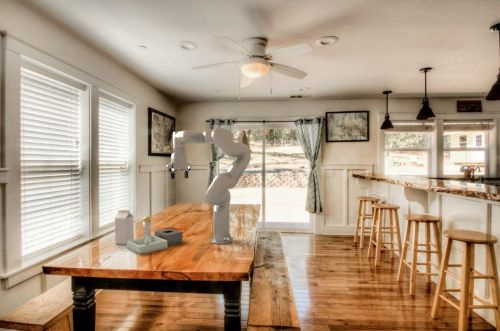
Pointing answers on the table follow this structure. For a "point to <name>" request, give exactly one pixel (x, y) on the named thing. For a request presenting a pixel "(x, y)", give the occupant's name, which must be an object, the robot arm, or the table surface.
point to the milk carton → (123, 227)
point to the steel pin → (146, 230)
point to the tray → (140, 248)
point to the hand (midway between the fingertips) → (179, 178)
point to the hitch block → (169, 236)
